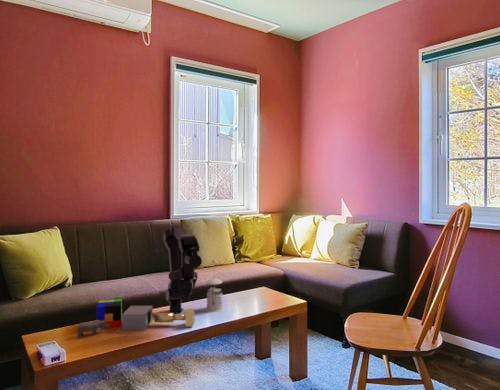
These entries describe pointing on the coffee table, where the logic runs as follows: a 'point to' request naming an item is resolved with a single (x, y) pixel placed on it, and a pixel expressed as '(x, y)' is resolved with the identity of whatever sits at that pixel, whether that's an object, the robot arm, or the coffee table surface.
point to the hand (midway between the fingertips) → (188, 298)
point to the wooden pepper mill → (176, 317)
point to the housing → (137, 318)
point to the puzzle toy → (110, 312)
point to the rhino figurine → (91, 327)
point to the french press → (214, 295)
